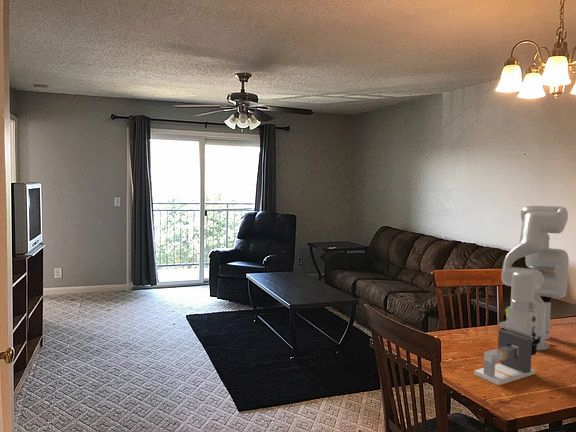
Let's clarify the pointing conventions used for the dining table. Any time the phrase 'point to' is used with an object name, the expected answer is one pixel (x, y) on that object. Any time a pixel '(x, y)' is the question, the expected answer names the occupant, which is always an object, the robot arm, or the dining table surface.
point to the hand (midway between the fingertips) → (519, 350)
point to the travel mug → (547, 313)
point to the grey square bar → (501, 353)
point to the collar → (523, 352)
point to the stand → (500, 373)
